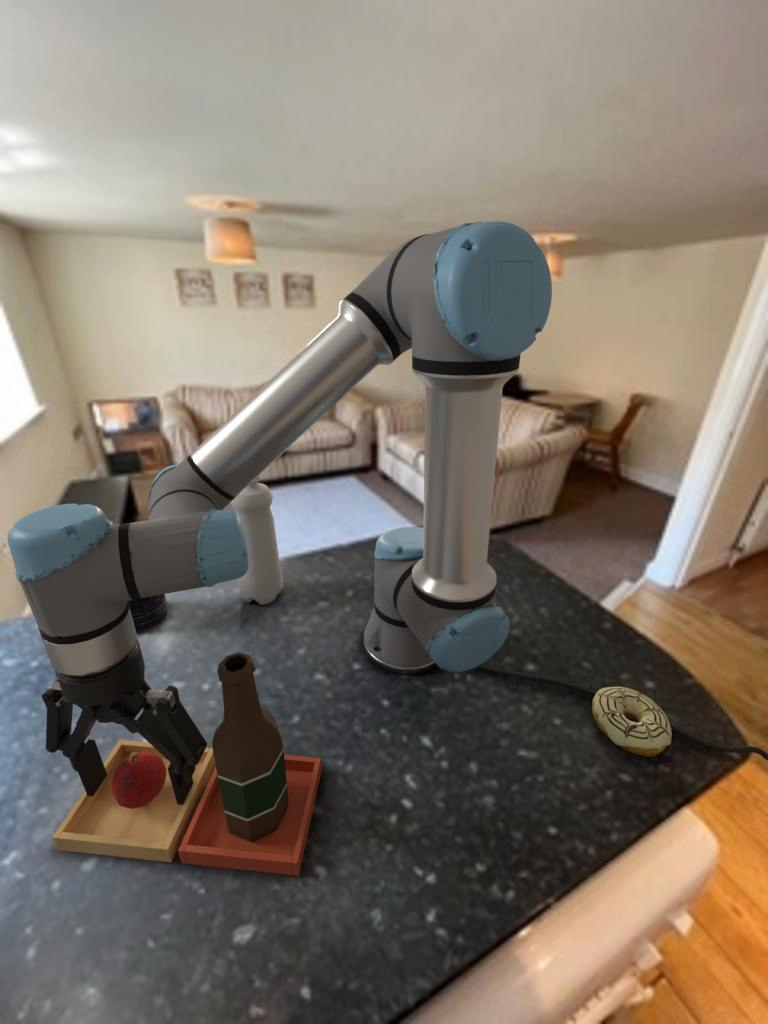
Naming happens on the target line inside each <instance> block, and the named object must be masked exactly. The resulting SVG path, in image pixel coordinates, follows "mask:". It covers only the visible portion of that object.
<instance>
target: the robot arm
mask: <svg viewBox="0 0 768 1024" xmlns="http://www.w3.org/2000/svg"><path fill="white" fill-rule="evenodd" d="M552 283H553V282H552V275H551V270H550V266H549V263H548V259H547V258H546V255H545V253H544V251H543V250H542V249H541V248H540V247H539V246H538V244H537V242H536V241H535V238H534V237H533V236H532V234H530V232H528V231H527V230H526V229H524V228H522V227H521V226H518V225H516V224H514V223H511V222H509V221H502V220H501V221H500V220H494V221H481V220H479V221H475V222H466V223H463V224H461V225H459V226H455V227H451V228H447V229H443V230H440V231H436V232H432V233H425V234H422V235H417V236H416V237H413V238H410V239H408V240H406V241H404V242H403V243H402V244H400V246H398V247H397V248H396V249H394V250H393V251H391V252H390V253H389V254H388V255H387V256H386V257H384V259H383V260H382V261H381V262H380V263H379V264H378V265H376V266H375V268H374V269H372V270H371V271H370V272H369V274H367V276H365V278H364V279H362V281H360V282H359V283H358V284H357V285H356V286H355V287H354V288H353V290H351V292H349V293H348V294H347V295H346V296H345V297H344V298H343V299H342V300H341V301H339V304H338V314H337V316H336V318H334V319H333V321H331V322H330V323H329V324H328V325H327V326H326V327H325V328H324V329H322V331H320V332H319V334H317V335H316V336H315V337H313V339H312V340H311V341H309V343H307V344H306V345H305V347H303V348H302V349H301V350H300V351H299V352H298V353H297V354H296V355H295V356H294V357H293V358H291V359H290V360H289V361H288V362H287V363H286V364H285V365H284V366H283V367H282V368H281V369H280V370H279V371H278V372H276V373H275V374H274V375H273V376H272V377H271V378H270V379H268V381H267V382H266V383H265V384H264V385H262V386H261V387H260V388H259V389H258V390H257V391H256V392H255V393H254V394H253V395H252V396H251V397H249V398H248V400H247V401H245V403H243V404H242V405H241V406H240V407H239V408H238V409H237V410H236V411H234V412H233V413H232V414H231V415H230V416H229V417H228V418H227V419H226V420H225V421H224V422H223V423H222V424H220V426H219V427H217V428H216V429H215V430H214V431H213V432H212V433H211V434H210V435H209V436H207V438H206V439H204V441H202V443H200V444H199V445H198V446H197V447H196V448H195V449H193V451H192V452H191V453H189V455H187V456H186V457H185V458H184V459H183V460H182V461H181V462H179V463H175V464H171V465H168V466H166V467H164V468H163V469H161V470H160V471H159V472H158V473H157V475H156V476H155V477H154V479H153V481H152V483H151V487H150V489H149V491H148V518H147V520H141V521H135V522H127V523H116V524H111V521H110V520H109V519H108V518H107V516H106V513H105V512H104V510H102V509H101V508H100V507H98V506H96V505H93V504H88V503H85V504H84V503H83V504H77V503H64V504H58V505H53V506H49V507H45V508H40V509H38V510H35V511H33V512H30V513H28V514H27V515H25V516H23V517H21V518H19V519H18V520H17V521H16V522H15V523H13V525H12V527H11V529H9V530H8V533H7V540H6V541H7V544H8V549H9V551H10V555H11V558H12V561H13V565H14V569H15V574H14V575H15V578H16V580H17V581H18V582H19V584H20V586H21V588H22V591H23V593H24V596H25V599H26V601H27V603H28V605H29V608H30V611H31V613H32V616H33V618H34V620H35V623H36V625H37V627H38V631H39V634H40V637H41V640H42V643H43V646H44V648H45V651H46V655H47V657H48V660H49V662H50V665H51V668H52V669H53V670H54V674H55V676H56V680H55V681H54V682H53V683H52V684H50V686H49V687H48V688H47V689H46V690H45V691H44V692H43V693H42V694H41V698H42V701H43V703H44V706H45V707H46V728H45V730H46V731H45V750H46V751H47V752H48V753H51V754H55V753H56V752H57V751H60V752H62V755H63V757H65V758H68V759H69V763H70V765H71V767H72V769H73V770H74V771H75V772H76V773H78V776H79V778H80V781H81V783H82V786H83V788H84V791H86V793H87V796H94V794H95V793H96V791H97V790H98V788H99V787H100V785H101V784H102V782H103V781H104V779H105V778H106V776H107V772H106V770H105V767H104V764H103V763H104V761H103V759H102V756H101V754H100V751H99V748H98V745H97V742H96V741H95V739H89V736H90V735H91V731H92V729H93V728H94V725H96V722H98V723H101V724H109V723H113V724H116V725H122V726H123V727H124V728H125V729H126V730H127V731H128V732H129V733H131V734H139V735H140V736H141V737H142V738H143V739H145V741H146V742H149V743H150V744H151V745H152V746H153V747H154V748H155V749H156V750H158V751H159V752H160V753H161V754H162V755H163V756H164V757H165V758H166V759H167V760H168V761H169V762H171V764H170V765H169V767H168V772H169V776H170V779H171V783H172V787H173V791H174V794H175V798H176V802H177V805H183V804H184V802H185V800H186V798H187V796H188V793H189V791H190V789H191V787H192V785H193V783H194V782H193V778H192V776H193V774H194V771H195V769H196V768H195V766H196V765H198V763H199V761H200V759H201V757H202V755H203V753H204V751H205V749H206V748H208V742H207V740H206V739H205V737H204V736H203V733H202V732H200V729H199V728H198V727H197V725H196V723H195V721H193V719H192V717H191V716H190V714H189V713H188V711H187V709H186V708H185V707H184V705H183V703H182V702H181V700H180V695H179V689H178V688H177V687H176V686H175V685H172V684H170V685H167V687H166V688H165V689H164V690H155V689H153V688H152V687H151V686H150V685H149V684H148V683H147V681H146V680H145V673H146V672H145V671H146V663H145V658H144V655H143V652H142V648H141V644H140V641H139V639H138V633H137V634H136V630H135V626H134V623H133V619H132V615H131V612H130V608H129V603H128V601H130V600H136V599H142V598H144V597H150V596H155V595H161V594H165V595H167V594H172V593H177V592H183V591H189V590H196V589H200V588H207V587H208V588H212V587H214V586H216V585H217V584H220V583H221V584H222V583H224V582H229V581H233V580H238V578H241V577H242V576H244V575H245V574H246V572H247V570H248V552H247V544H246V538H245V533H244V528H243V523H242V520H241V517H240V514H239V513H238V512H237V511H235V509H230V508H229V509H225V508H227V506H228V505H229V504H231V501H232V500H233V499H234V498H236V497H237V495H238V494H239V493H240V492H241V491H243V490H244V489H245V488H246V487H247V486H248V485H249V484H250V483H251V482H252V481H253V480H254V479H255V478H257V477H258V476H259V475H261V474H262V473H263V472H264V471H265V470H267V468H268V467H269V466H271V465H272V464H273V463H274V462H275V461H276V460H277V459H278V458H279V457H280V456H281V455H282V454H284V453H285V452H286V451H287V450H288V449H289V448H290V447H291V446H293V444H295V443H296V442H297V441H298V440H299V439H300V438H301V437H302V436H303V435H304V434H305V433H306V432H307V431H308V430H310V428H311V427H313V426H314V425H315V424H316V423H317V422H318V421H319V420H320V419H321V418H322V417H323V416H324V415H326V414H327V413H328V412H329V411H330V410H331V409H332V408H333V407H334V406H336V404H338V403H339V402H340V400H342V399H343V398H344V397H345V396H346V395H347V394H348V393H350V391H352V390H353V389H354V387H356V386H357V385H358V384H359V383H361V381H362V380H363V379H365V378H366V376H368V375H369V374H370V373H371V372H372V371H373V370H375V368H376V367H377V366H379V365H384V366H385V365H386V366H390V365H391V364H393V363H394V362H395V361H396V360H397V359H398V358H399V357H400V356H401V355H402V354H404V353H406V352H407V351H409V350H410V349H411V368H412V369H411V370H412V373H413V374H415V376H416V377H417V378H418V379H419V380H420V381H421V382H422V383H423V386H424V387H425V388H424V390H425V393H424V401H425V402H424V453H423V455H424V459H423V460H424V461H423V525H422V526H423V527H419V526H404V527H398V528H397V527H396V528H392V529H390V530H387V531H385V532H384V533H382V534H381V535H380V536H379V537H377V539H376V543H375V548H374V549H375V550H374V554H373V557H374V586H373V587H374V588H373V589H374V590H373V591H374V592H373V593H374V595H373V600H374V601H373V603H374V604H373V610H372V612H371V614H370V616H369V619H368V621H367V624H366V626H365V629H364V632H363V649H364V652H365V654H366V656H367V658H369V660H370V661H371V662H372V663H373V664H374V665H375V666H377V667H379V668H380V669H382V670H384V671H388V672H389V673H393V674H397V675H399V674H400V675H416V674H421V673H424V672H427V671H430V670H432V669H433V668H435V667H436V666H437V667H439V668H440V669H441V670H444V671H446V672H448V673H449V672H450V673H461V672H462V673H463V672H466V671H467V672H468V671H470V670H472V669H475V668H478V669H480V670H485V671H487V672H491V673H494V674H495V673H496V674H500V675H504V676H509V677H512V678H517V679H521V680H522V679H523V680H529V681H535V682H541V683H545V684H546V683H547V684H551V685H556V686H560V687H564V688H568V689H570V690H575V691H577V692H580V693H583V694H587V695H589V696H591V697H595V694H596V693H597V692H598V691H595V690H592V689H590V688H587V687H583V686H581V685H578V684H575V683H571V682H567V681H564V680H560V679H555V678H550V677H546V676H541V675H540V676H539V675H534V674H526V673H523V672H522V673H521V672H517V671H512V670H509V669H503V668H498V667H494V666H490V665H487V664H484V663H485V662H487V661H488V660H490V659H491V658H492V657H493V656H494V655H495V654H496V653H497V652H498V651H499V650H500V648H501V647H503V645H504V643H505V642H506V640H507V638H508V635H509V633H510V627H511V626H510V624H511V623H510V619H509V617H508V615H507V614H506V611H505V610H504V609H503V608H502V607H501V606H498V605H497V603H496V593H497V592H496V591H497V582H498V581H497V573H496V571H495V569H494V568H493V566H492V565H491V564H490V563H489V562H488V556H489V555H488V554H489V545H490V532H491V520H492V510H493V498H494V489H495V488H494V487H495V476H496V467H497V454H498V445H499V432H500V422H501V410H502V400H503V388H504V386H505V384H506V383H507V382H508V381H509V380H510V379H511V378H513V377H514V376H515V375H516V374H517V373H519V371H520V363H521V354H522V353H524V352H525V351H526V350H528V349H529V348H530V347H532V345H533V344H534V343H535V342H536V340H537V337H536V336H537V335H538V334H539V333H541V332H543V329H544V327H545V325H546V323H547V320H548V318H549V315H550V310H551V306H552V300H553V299H552V298H553V297H552V296H553V284H552ZM74 705H75V706H77V707H78V708H79V709H81V712H80V715H79V717H78V719H77V721H76V723H75V727H74V729H73V731H72V725H73V724H72V723H73V712H74V709H73V708H74ZM140 712H141V713H140ZM139 714H140V715H139ZM138 715H139V716H138ZM137 716H138V717H137ZM136 718H137V719H136ZM670 727H671V731H672V732H674V733H676V734H678V735H680V736H682V737H683V738H685V739H688V740H690V741H692V742H694V743H696V744H699V745H702V746H704V747H706V748H710V749H713V750H715V751H719V752H723V753H730V754H731V753H732V754H733V753H734V754H738V753H754V754H757V755H759V756H761V757H762V758H763V759H764V760H766V761H768V753H767V751H765V750H763V748H760V747H758V746H754V745H753V746H752V745H740V746H739V745H737V746H733V745H731V746H728V745H722V744H718V743H715V742H712V741H710V740H706V739H704V738H701V737H699V736H696V735H695V734H692V733H690V732H688V731H686V730H684V729H682V728H680V727H677V726H675V725H674V724H671V723H670ZM87 738H88V740H87ZM86 740H87V741H86Z"/></svg>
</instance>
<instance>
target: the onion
mask: <svg viewBox="0 0 768 1024" xmlns="http://www.w3.org/2000/svg"><path fill="white" fill-rule="evenodd" d="M165 779H166V767H165V763H164V762H163V760H162V759H161V758H160V757H159V756H158V755H156V754H155V753H151V752H147V751H144V752H134V753H131V754H130V756H128V757H127V758H126V759H124V760H123V761H122V763H121V764H120V765H119V766H118V767H117V769H116V771H115V773H114V776H113V778H112V795H113V796H114V798H115V799H116V801H117V802H118V804H119V805H120V806H123V807H126V808H130V809H134V808H139V807H142V806H144V805H146V804H147V803H149V802H151V801H152V800H153V799H154V798H155V797H156V796H157V795H158V794H159V792H160V791H161V789H162V787H163V786H164V783H165Z"/></svg>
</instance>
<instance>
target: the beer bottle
mask: <svg viewBox="0 0 768 1024" xmlns="http://www.w3.org/2000/svg"><path fill="white" fill-rule="evenodd" d="M256 670H257V669H256V665H255V662H254V660H253V658H252V656H251V655H250V654H248V653H245V652H240V651H239V652H234V653H231V654H228V655H225V656H224V658H223V659H222V660H221V661H220V662H219V664H218V665H217V670H216V672H217V676H218V681H219V682H220V683H221V689H222V702H223V716H222V717H223V718H222V721H221V722H220V723H219V725H218V726H217V727H216V729H215V730H214V734H213V737H212V740H211V745H212V748H213V755H214V760H215V766H216V771H217V776H218V781H219V786H220V791H221V796H222V801H223V806H224V811H225V816H226V821H227V826H228V829H229V832H230V834H233V835H235V836H238V837H240V838H243V839H245V840H248V841H250V842H254V841H256V840H258V839H260V838H262V837H264V836H266V835H268V834H270V833H272V832H274V831H276V830H277V828H278V826H279V824H280V822H281V820H282V818H283V816H284V814H285V812H286V810H287V808H288V789H287V779H286V768H285V758H284V755H285V748H284V744H283V740H282V735H281V733H280V730H279V727H278V725H277V721H276V719H275V717H274V715H273V714H272V713H271V711H270V710H268V709H266V708H264V707H262V706H261V703H260V700H259V694H258V690H257V685H256V680H255V676H254V673H255V671H256Z"/></svg>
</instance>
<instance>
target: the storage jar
mask: <svg viewBox="0 0 768 1024" xmlns="http://www.w3.org/2000/svg"><path fill="white" fill-rule="evenodd" d="M128 603H129V608H130V612H131V615H132V619H133V623H134V626H135V630H136V634H137V635H138V634H141V633H145V632H147V631H150V630H152V629H155V628H156V627H158V626H159V625H161V624H162V623H163V622H164V621H165V620H166V619H167V618H168V615H169V610H168V606H167V605H168V604H167V598H166V594H161V595H155V596H150V597H144V598H142V599H136V600H130V601H128Z"/></svg>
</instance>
